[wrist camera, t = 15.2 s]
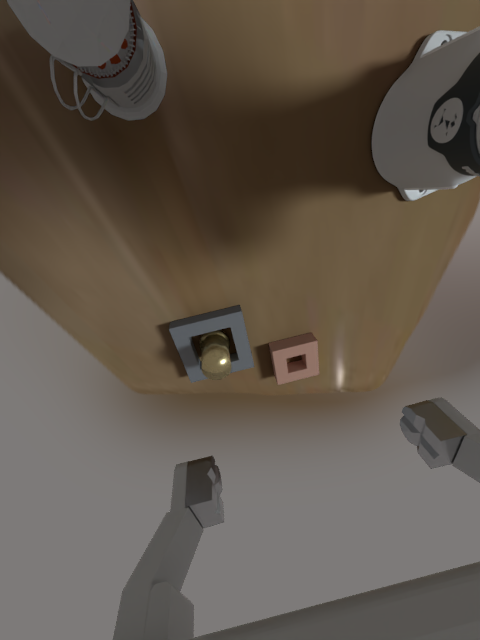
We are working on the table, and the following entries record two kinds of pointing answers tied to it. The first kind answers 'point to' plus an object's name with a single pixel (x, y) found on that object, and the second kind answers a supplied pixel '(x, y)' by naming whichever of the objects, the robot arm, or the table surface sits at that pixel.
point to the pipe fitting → (215, 355)
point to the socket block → (205, 324)
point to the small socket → (291, 348)
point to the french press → (100, 51)
